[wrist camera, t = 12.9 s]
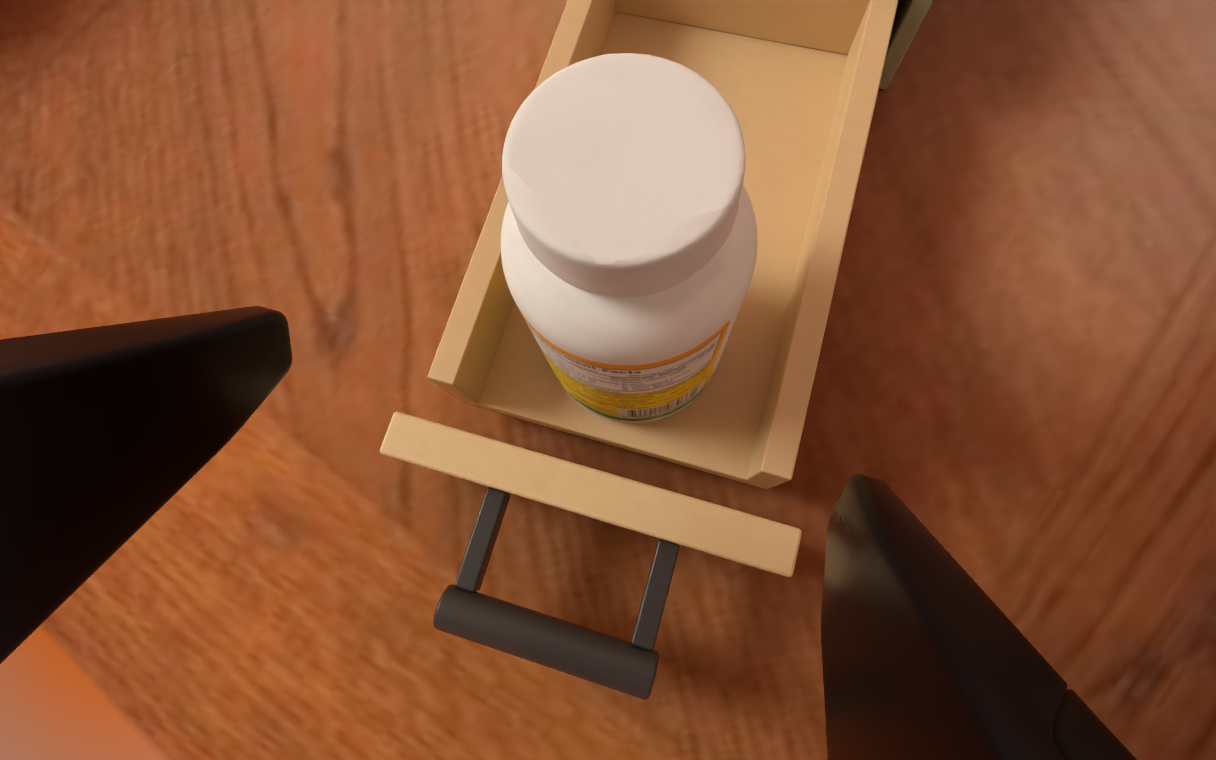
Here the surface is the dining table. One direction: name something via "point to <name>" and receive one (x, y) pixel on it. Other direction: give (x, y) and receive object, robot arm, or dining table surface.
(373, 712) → the dining table surface
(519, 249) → the supplement bottle
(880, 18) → the drawer
